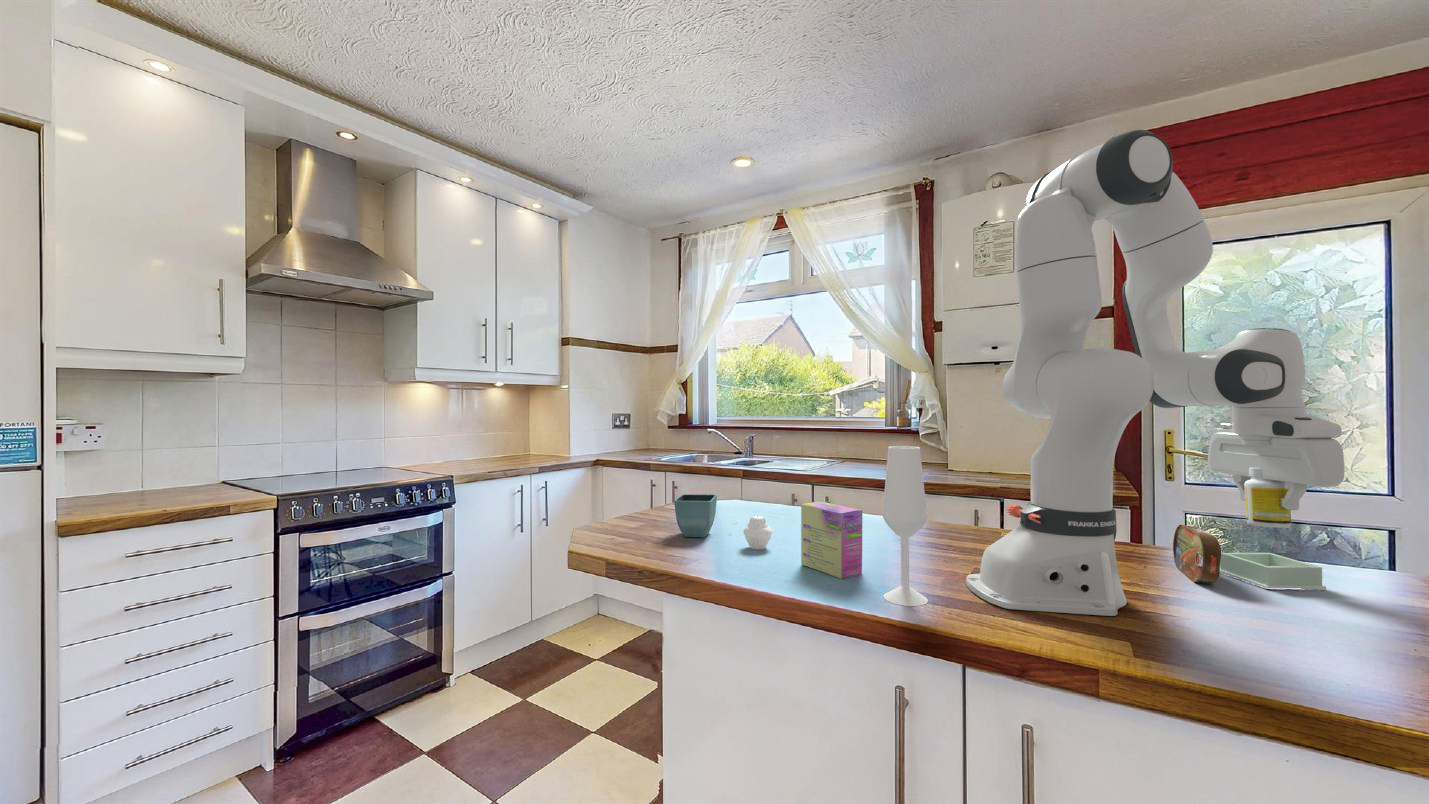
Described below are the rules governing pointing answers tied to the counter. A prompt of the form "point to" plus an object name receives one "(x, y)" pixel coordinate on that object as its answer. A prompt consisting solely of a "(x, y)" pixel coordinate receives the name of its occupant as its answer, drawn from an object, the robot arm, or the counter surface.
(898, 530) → the champagne flute
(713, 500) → the flower pot
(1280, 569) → the tray
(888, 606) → the counter surface
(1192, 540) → the tin
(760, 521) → the white rounded piece
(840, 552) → the box
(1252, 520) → the supplement bottle
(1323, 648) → the counter surface
